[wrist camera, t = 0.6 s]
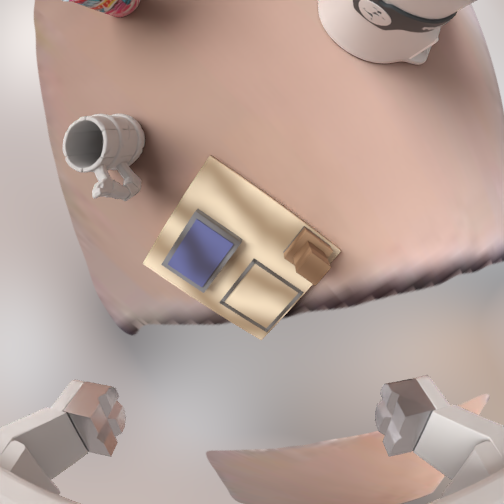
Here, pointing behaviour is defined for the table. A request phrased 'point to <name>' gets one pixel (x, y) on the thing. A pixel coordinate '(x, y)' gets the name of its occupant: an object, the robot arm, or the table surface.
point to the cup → (110, 6)
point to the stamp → (309, 255)
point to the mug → (106, 152)
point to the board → (256, 243)
